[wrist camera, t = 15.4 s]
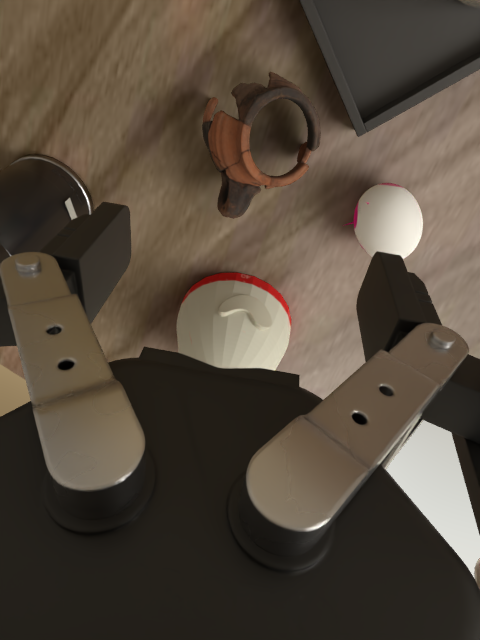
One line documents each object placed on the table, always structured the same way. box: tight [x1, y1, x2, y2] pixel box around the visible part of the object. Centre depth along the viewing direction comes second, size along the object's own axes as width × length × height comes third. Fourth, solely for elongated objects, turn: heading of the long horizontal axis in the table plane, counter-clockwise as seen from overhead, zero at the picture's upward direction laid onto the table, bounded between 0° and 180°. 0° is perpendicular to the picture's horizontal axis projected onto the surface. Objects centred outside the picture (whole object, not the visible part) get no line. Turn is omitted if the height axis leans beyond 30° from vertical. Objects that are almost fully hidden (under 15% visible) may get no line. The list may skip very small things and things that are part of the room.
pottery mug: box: [202, 72, 320, 218], centre depth 36 cm, size 12×10×8 cm
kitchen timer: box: [177, 273, 291, 371], centre depth 45 cm, size 14×14×15 cm
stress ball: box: [343, 183, 423, 259], centre depth 39 cm, size 8×8×7 cm
